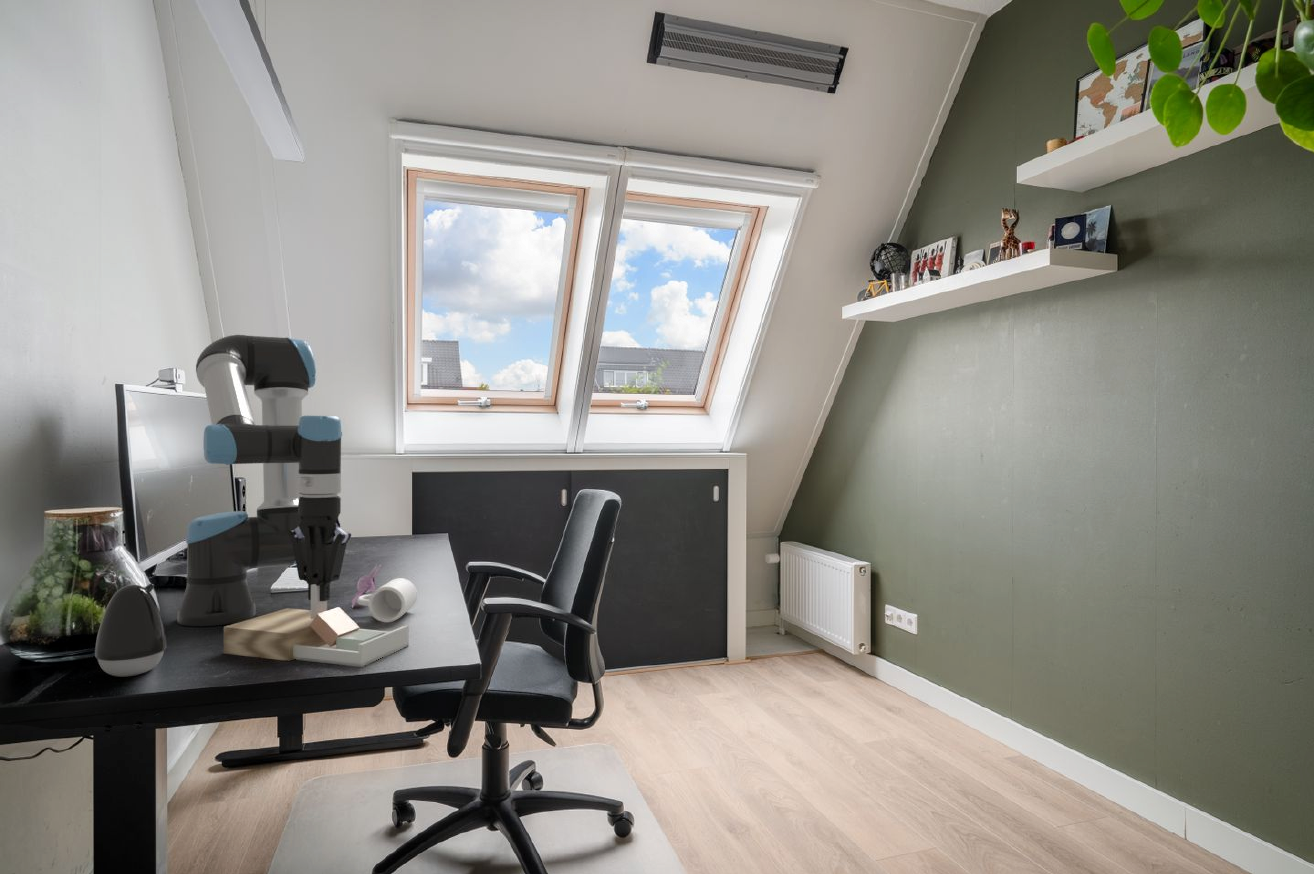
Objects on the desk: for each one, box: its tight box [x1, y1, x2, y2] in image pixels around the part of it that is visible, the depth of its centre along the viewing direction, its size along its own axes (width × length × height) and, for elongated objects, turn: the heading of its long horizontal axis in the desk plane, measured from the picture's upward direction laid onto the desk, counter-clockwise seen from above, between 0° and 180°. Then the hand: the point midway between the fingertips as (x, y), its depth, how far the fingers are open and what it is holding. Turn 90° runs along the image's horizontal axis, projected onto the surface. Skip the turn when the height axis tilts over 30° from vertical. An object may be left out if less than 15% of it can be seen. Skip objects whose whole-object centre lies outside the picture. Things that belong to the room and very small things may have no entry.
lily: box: [350, 563, 382, 609], centre depth 186 cm, size 12×12×10 cm
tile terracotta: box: [310, 606, 361, 647], centre depth 147 cm, size 6×6×3 cm
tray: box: [292, 625, 410, 668], centre depth 146 cm, size 15×14×4 cm
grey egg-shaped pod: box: [94, 583, 167, 678], centre depth 133 cm, size 10×10×15 cm
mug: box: [356, 577, 418, 623], centre depth 173 cm, size 12×10×8 cm
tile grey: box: [336, 630, 384, 651], centre depth 145 cm, size 6×6×3 cm
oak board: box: [223, 607, 349, 662], centre depth 150 cm, size 15×16×5 cm
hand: (318, 617), depth 148 cm, fingers closed
